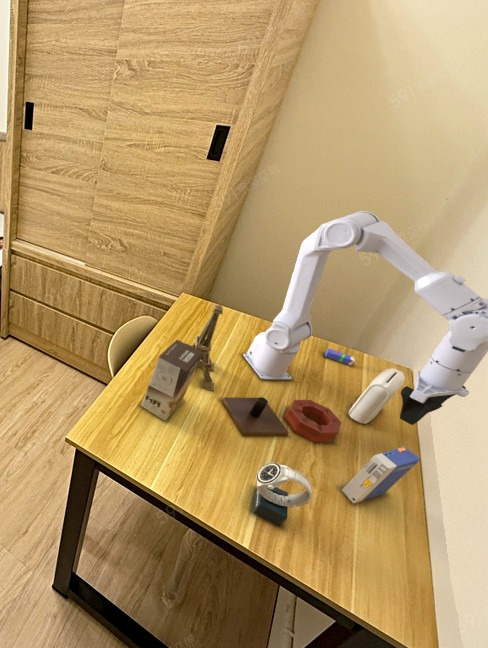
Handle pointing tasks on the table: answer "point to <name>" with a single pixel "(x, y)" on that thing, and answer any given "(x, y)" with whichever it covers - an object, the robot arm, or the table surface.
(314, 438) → the ring
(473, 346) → the robot arm
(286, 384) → the table surface
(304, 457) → the table surface
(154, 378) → the coffee box
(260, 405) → the post
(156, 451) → the table surface
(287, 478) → the watch
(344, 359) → the eraser
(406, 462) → the walkman
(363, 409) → the white wireless mouse
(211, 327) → the eiffel tower
